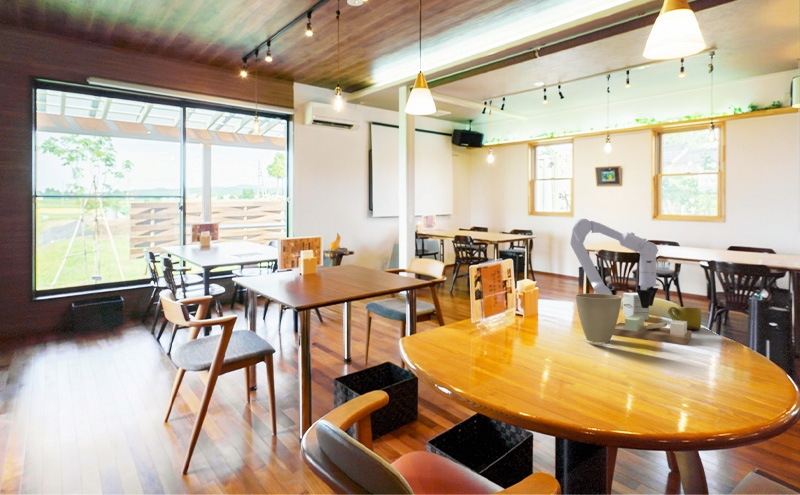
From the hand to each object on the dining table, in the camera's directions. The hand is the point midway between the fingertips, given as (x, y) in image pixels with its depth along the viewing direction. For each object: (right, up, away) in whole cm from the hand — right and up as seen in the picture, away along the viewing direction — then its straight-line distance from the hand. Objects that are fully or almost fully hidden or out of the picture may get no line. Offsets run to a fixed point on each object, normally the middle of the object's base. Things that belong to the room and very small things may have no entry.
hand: (647, 306), depth 169 cm
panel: (-4, -10, -9) cm, 14 cm away
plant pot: (-27, -10, -17) cm, 33 cm away
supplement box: (+4, -9, +16) cm, 19 cm away
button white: (+2, -7, -16) cm, 18 cm away
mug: (+14, -10, 0) cm, 17 cm away
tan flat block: (-3, -5, -11) cm, 12 cm away
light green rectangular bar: (-9, -7, -7) cm, 13 cm away
